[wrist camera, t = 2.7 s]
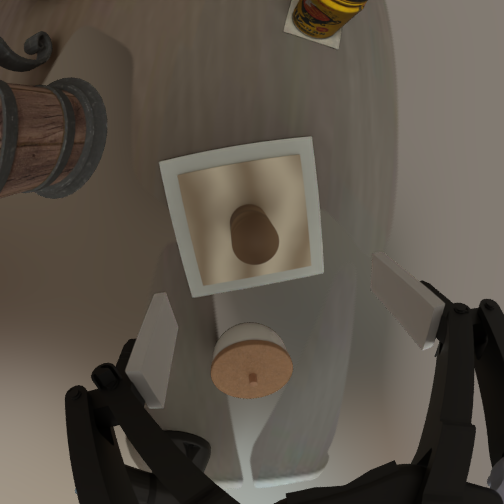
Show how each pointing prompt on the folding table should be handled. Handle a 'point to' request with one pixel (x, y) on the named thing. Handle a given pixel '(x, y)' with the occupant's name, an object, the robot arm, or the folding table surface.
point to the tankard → (47, 128)
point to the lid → (247, 218)
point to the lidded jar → (250, 361)
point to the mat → (233, 156)
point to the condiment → (321, 19)
